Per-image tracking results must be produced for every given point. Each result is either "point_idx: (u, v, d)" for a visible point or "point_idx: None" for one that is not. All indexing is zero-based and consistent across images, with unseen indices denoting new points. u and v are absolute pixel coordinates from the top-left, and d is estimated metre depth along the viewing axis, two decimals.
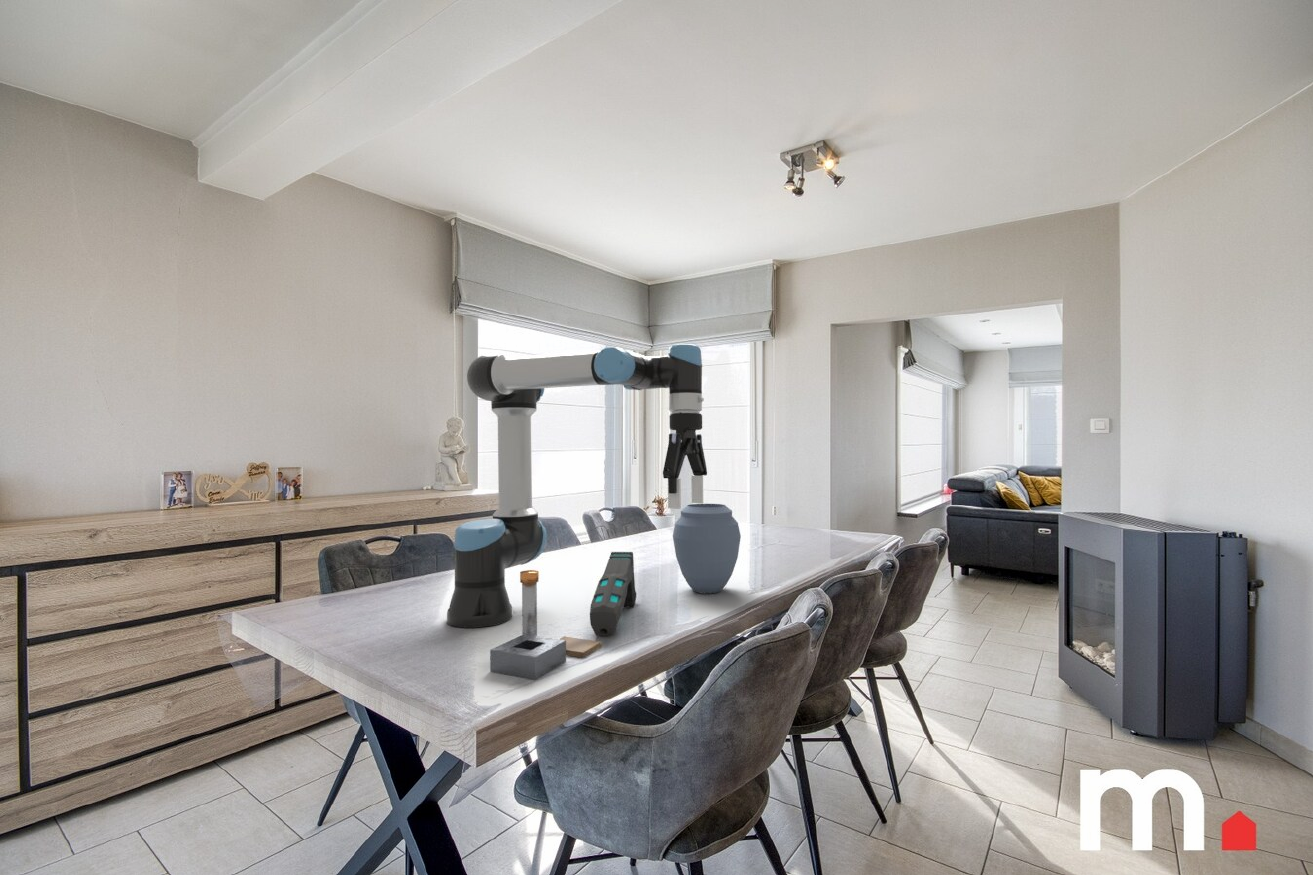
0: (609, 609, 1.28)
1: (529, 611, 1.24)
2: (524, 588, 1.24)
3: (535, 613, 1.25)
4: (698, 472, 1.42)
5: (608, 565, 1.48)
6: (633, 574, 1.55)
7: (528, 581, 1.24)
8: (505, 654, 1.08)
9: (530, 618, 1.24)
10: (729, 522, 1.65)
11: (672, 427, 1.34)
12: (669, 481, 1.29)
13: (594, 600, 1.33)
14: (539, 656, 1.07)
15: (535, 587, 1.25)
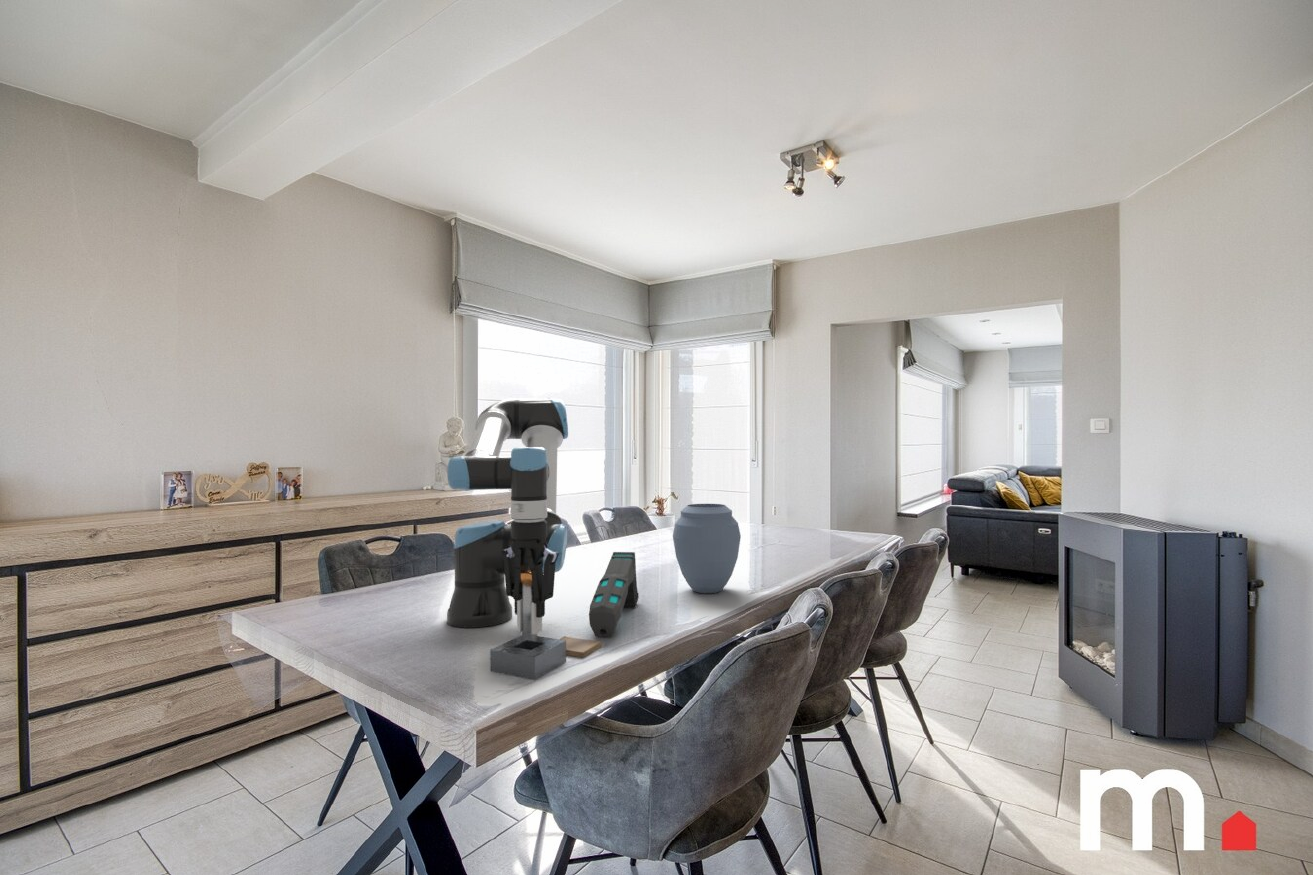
0: (608, 609, 1.28)
1: (529, 611, 1.24)
2: (524, 588, 1.24)
3: None
4: None
5: (609, 565, 1.47)
6: (635, 574, 1.54)
7: (528, 581, 1.24)
8: (505, 654, 1.08)
9: (530, 618, 1.24)
10: (729, 522, 1.65)
11: None
12: None
13: (594, 600, 1.33)
14: (539, 656, 1.07)
15: None
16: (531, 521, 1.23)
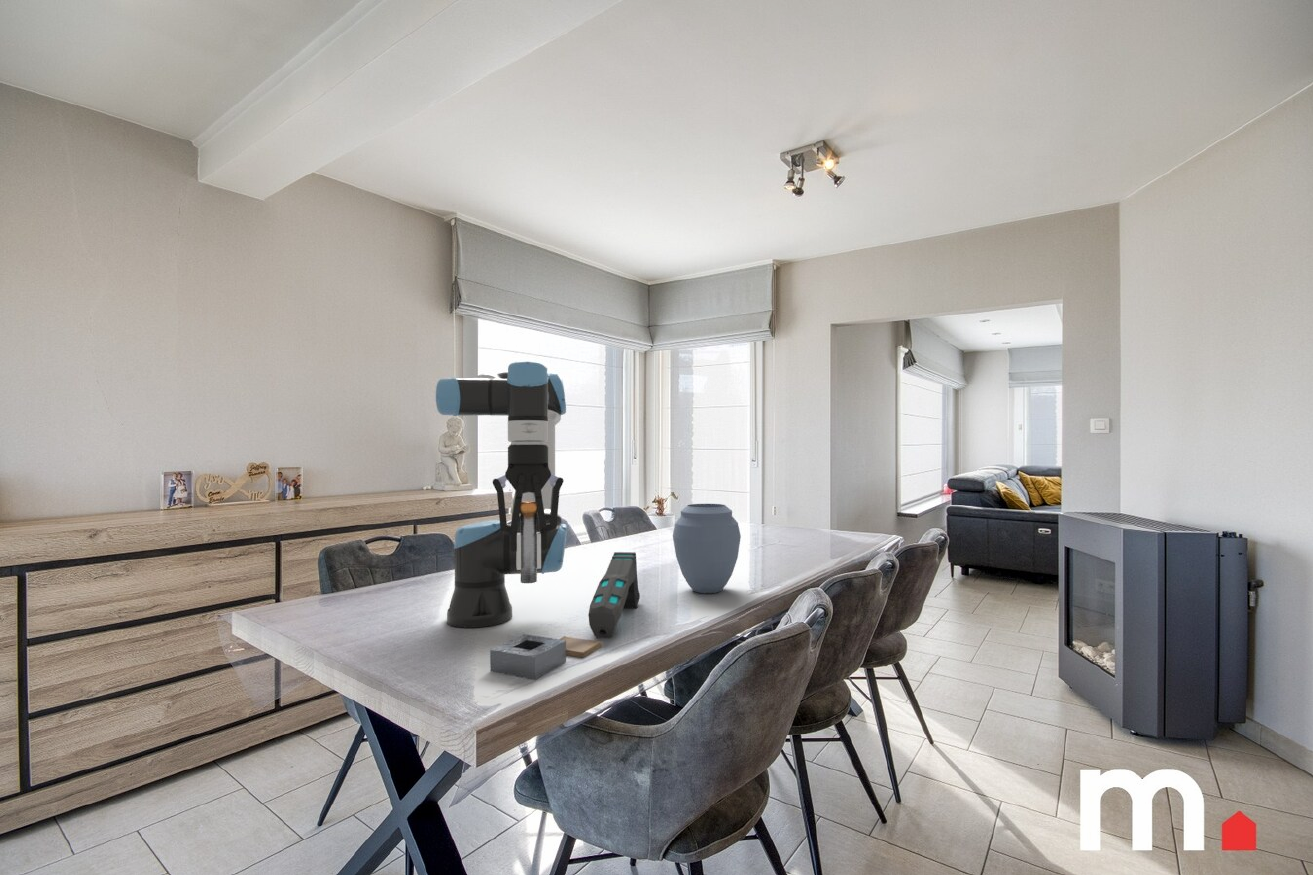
0: (608, 610, 1.27)
1: (533, 545, 1.12)
2: (527, 519, 1.11)
3: None
4: None
5: (610, 565, 1.47)
6: (636, 575, 1.54)
7: (534, 511, 1.11)
8: (505, 654, 1.08)
9: (534, 552, 1.12)
10: (729, 522, 1.65)
11: None
12: None
13: (594, 601, 1.32)
14: (539, 656, 1.07)
15: None
16: (540, 443, 1.11)
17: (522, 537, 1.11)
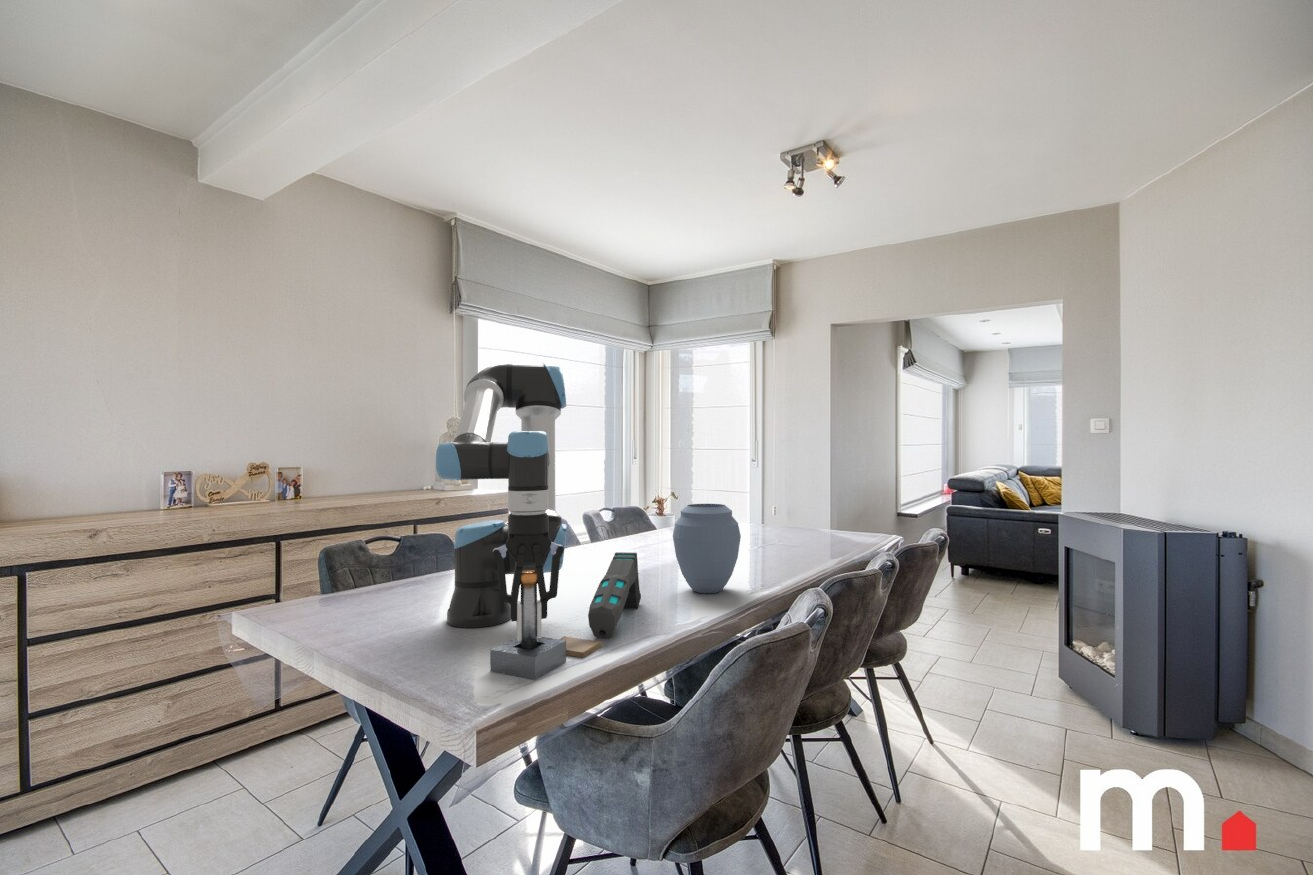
0: (608, 610, 1.27)
1: (534, 615, 1.11)
2: (528, 590, 1.11)
3: (536, 617, 1.13)
4: None
5: (611, 565, 1.47)
6: (637, 575, 1.54)
7: (534, 582, 1.11)
8: (505, 654, 1.08)
9: (535, 622, 1.12)
10: (729, 522, 1.65)
11: None
12: (510, 606, 1.12)
13: (594, 601, 1.32)
14: (539, 656, 1.07)
15: None
16: (541, 513, 1.11)
17: (522, 608, 1.11)
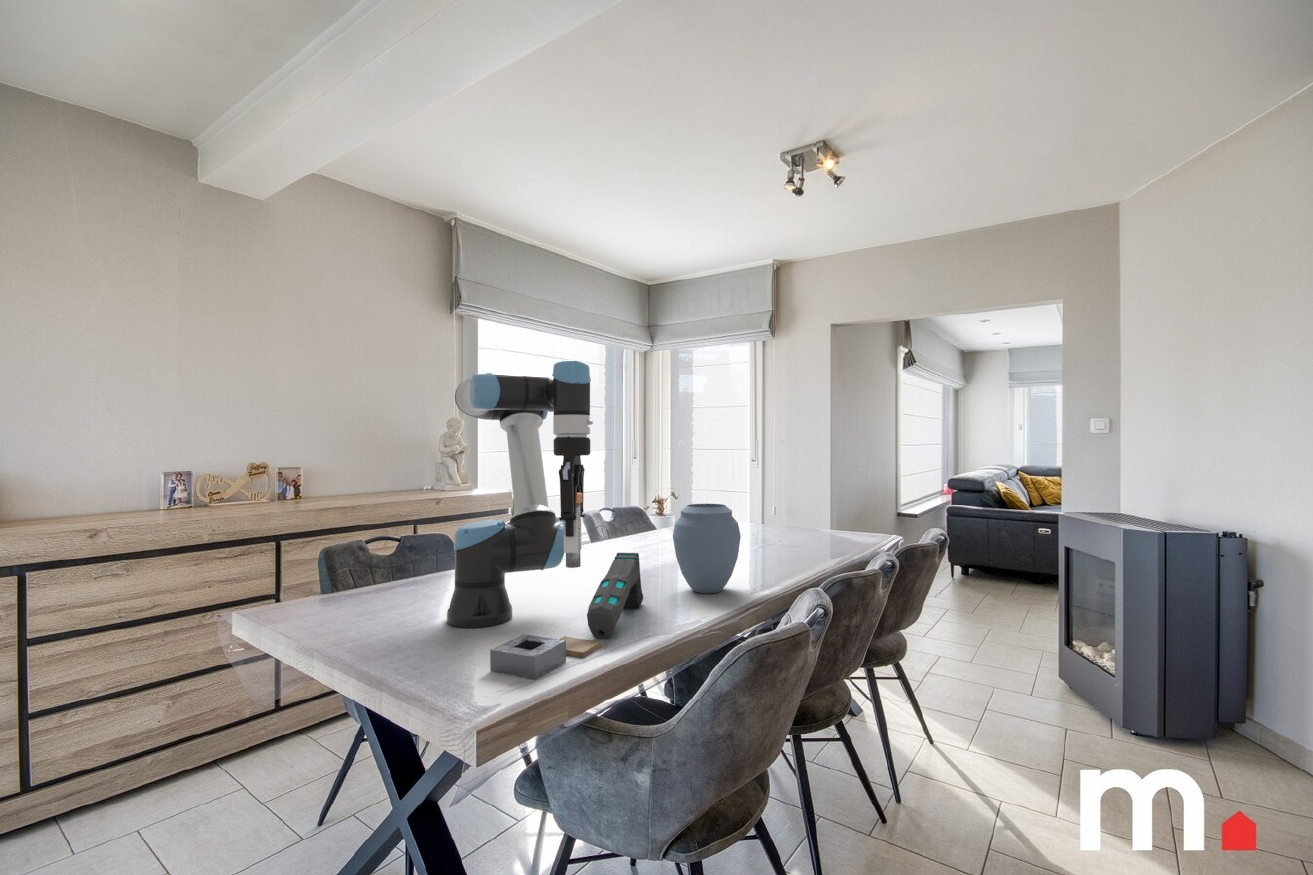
0: (606, 611, 1.27)
1: None
2: (579, 508, 1.22)
3: None
4: None
5: (612, 566, 1.47)
6: (639, 575, 1.53)
7: None
8: (505, 654, 1.08)
9: None
10: (729, 522, 1.65)
11: (559, 453, 1.19)
12: (566, 523, 1.19)
13: (593, 601, 1.32)
14: (539, 656, 1.07)
15: None
16: None
17: None
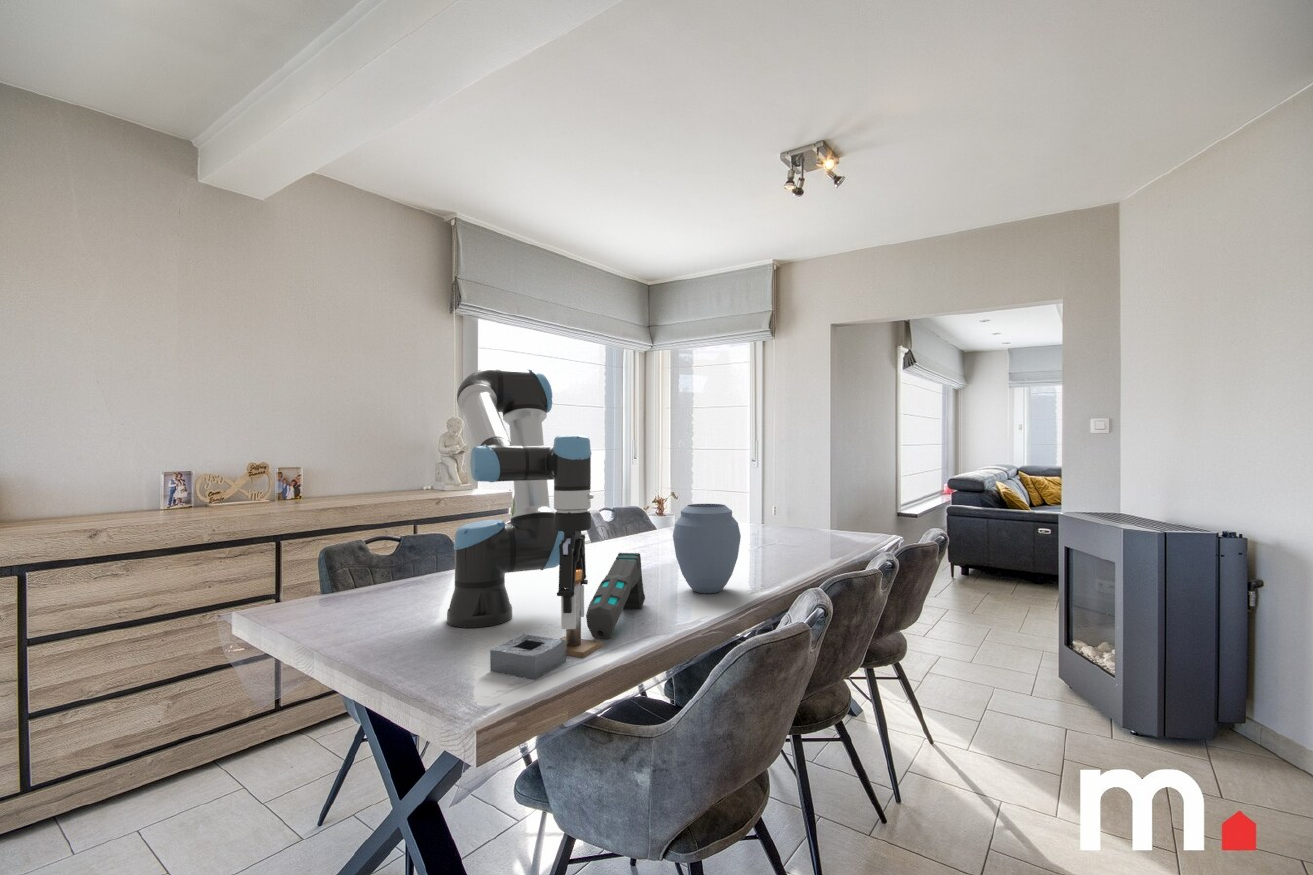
0: (605, 611, 1.27)
1: None
2: (579, 586, 1.21)
3: None
4: None
5: (613, 566, 1.46)
6: (641, 576, 1.53)
7: None
8: (505, 654, 1.08)
9: None
10: (729, 522, 1.65)
11: (559, 529, 1.19)
12: (564, 600, 1.16)
13: (593, 601, 1.32)
14: (539, 656, 1.07)
15: None
16: None
17: (576, 603, 1.21)
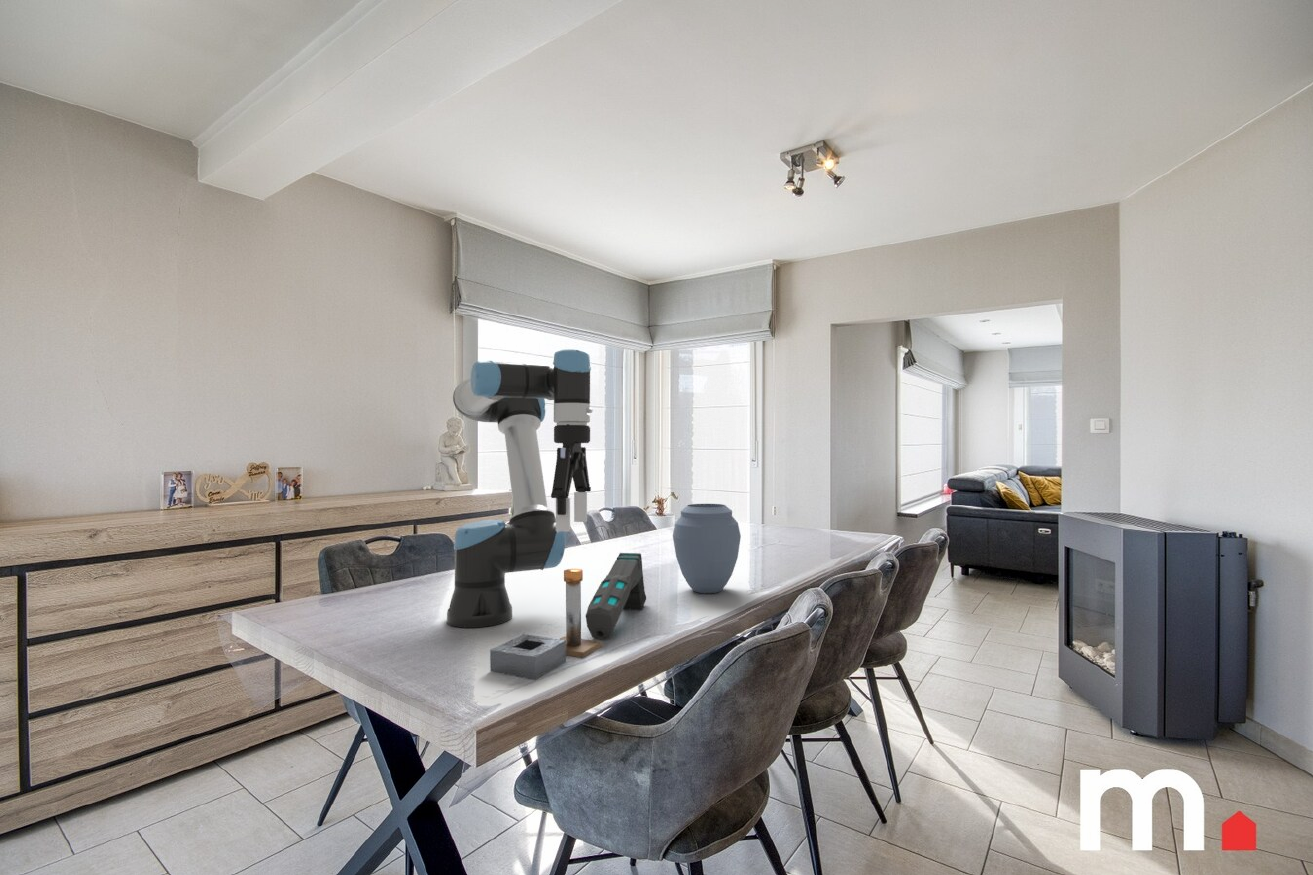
0: (605, 611, 1.26)
1: None
2: (580, 586, 1.22)
3: None
4: (581, 488, 1.31)
5: (613, 566, 1.46)
6: (641, 576, 1.52)
7: None
8: (505, 654, 1.08)
9: None
10: (729, 522, 1.65)
11: (558, 441, 1.21)
12: (558, 501, 1.16)
13: (592, 601, 1.32)
14: (539, 656, 1.07)
15: None
16: None
17: (576, 603, 1.21)
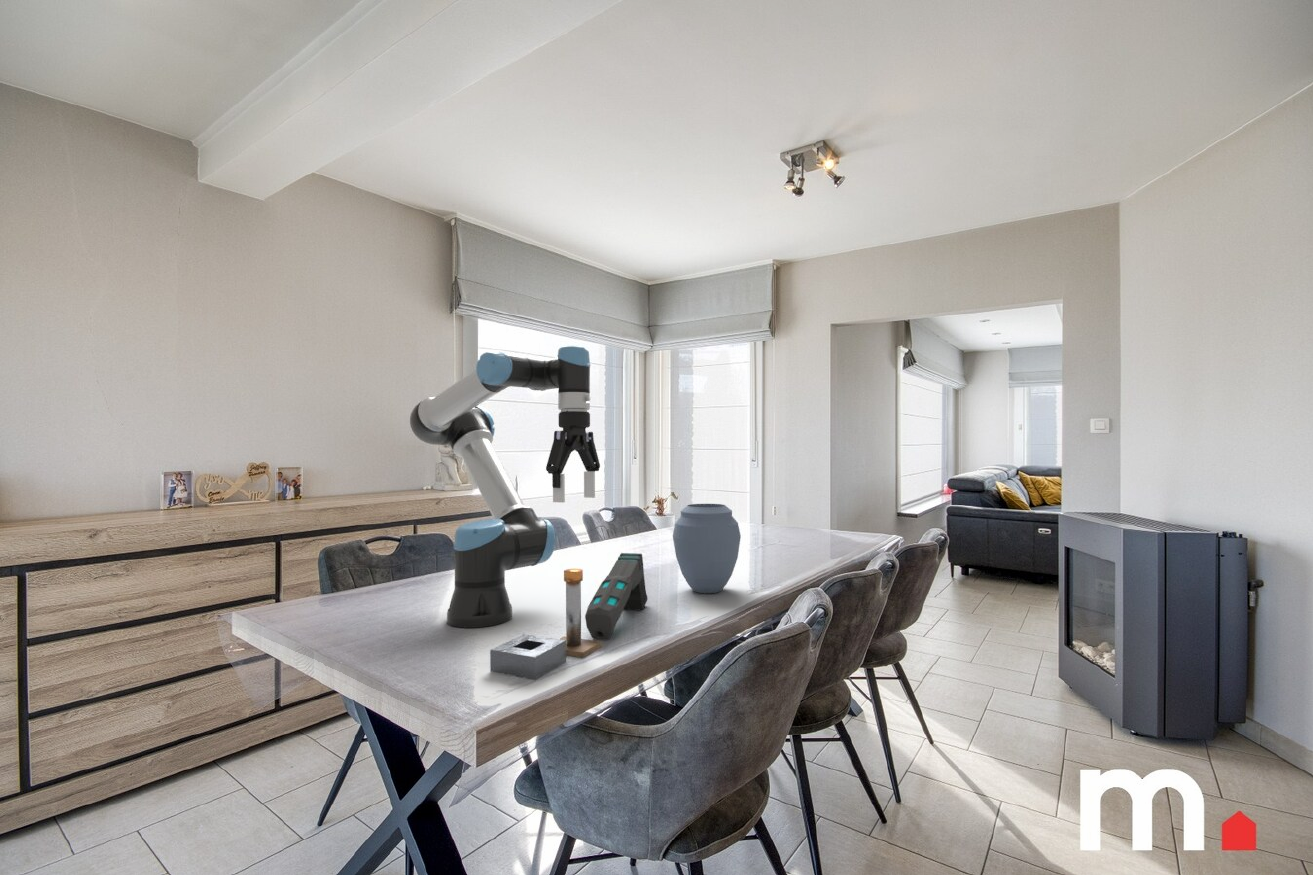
0: (604, 612, 1.26)
1: None
2: (580, 586, 1.22)
3: None
4: (590, 468, 1.49)
5: (614, 566, 1.46)
6: (643, 576, 1.52)
7: None
8: (505, 654, 1.08)
9: None
10: (729, 522, 1.65)
11: (560, 425, 1.41)
12: (553, 476, 1.35)
13: (592, 602, 1.31)
14: (539, 656, 1.07)
15: None
16: None
17: (576, 603, 1.21)
